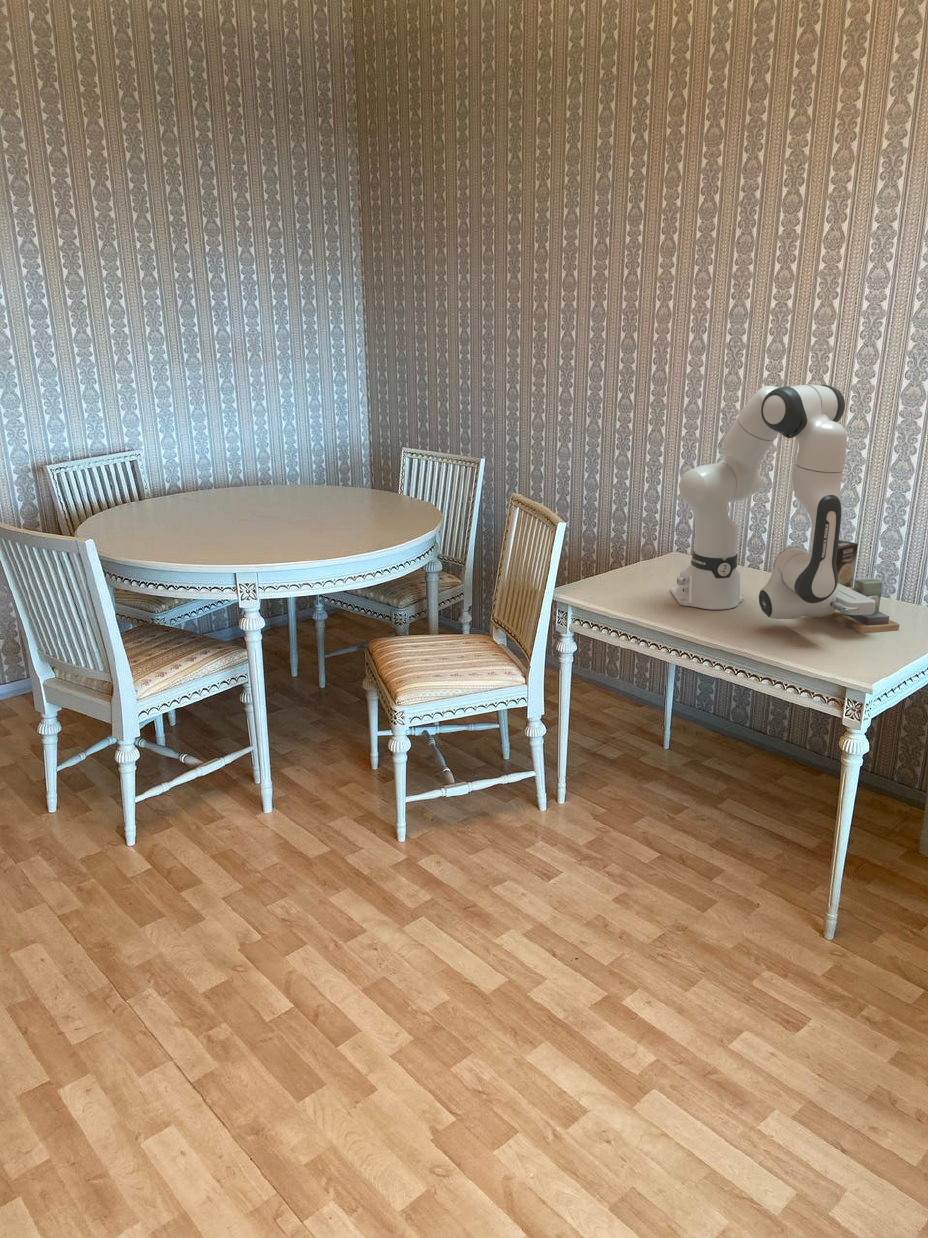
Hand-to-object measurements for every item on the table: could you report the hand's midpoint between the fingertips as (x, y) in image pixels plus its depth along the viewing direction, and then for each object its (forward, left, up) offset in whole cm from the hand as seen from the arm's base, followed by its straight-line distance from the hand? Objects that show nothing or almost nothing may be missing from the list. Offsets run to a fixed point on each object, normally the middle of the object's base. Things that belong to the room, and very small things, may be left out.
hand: (869, 595), depth 252 cm
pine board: (-3, -1, -8) cm, 8 cm away
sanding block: (0, -1, -6) cm, 6 cm away
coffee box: (-21, +3, -8) cm, 23 cm away
